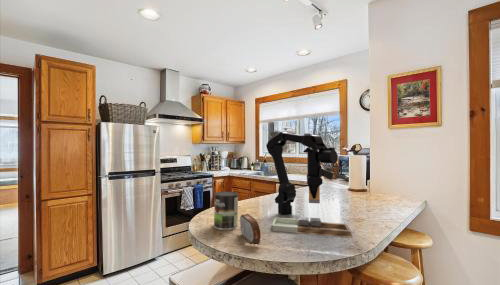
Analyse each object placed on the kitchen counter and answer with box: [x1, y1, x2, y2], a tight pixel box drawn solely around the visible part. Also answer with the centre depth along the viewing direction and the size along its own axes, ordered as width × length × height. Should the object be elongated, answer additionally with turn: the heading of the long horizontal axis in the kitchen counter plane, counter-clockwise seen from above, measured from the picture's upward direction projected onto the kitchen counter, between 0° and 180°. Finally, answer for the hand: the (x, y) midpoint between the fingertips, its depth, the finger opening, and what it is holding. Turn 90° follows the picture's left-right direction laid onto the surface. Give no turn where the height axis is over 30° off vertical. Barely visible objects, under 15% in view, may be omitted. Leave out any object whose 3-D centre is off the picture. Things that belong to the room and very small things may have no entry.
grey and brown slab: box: [239, 213, 261, 245], centre depth 87 cm, size 15×3×8 cm, turn 21°
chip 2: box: [309, 217, 322, 228], centre depth 96 cm, size 4×4×4 cm
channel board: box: [297, 219, 352, 238], centre depth 95 cm, size 20×12×2 cm, turn 77°
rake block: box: [308, 185, 321, 204], centre depth 106 cm, size 5×5×8 cm
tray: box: [270, 216, 299, 234], centre depth 99 cm, size 10×12×3 cm
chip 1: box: [298, 216, 310, 227], centre depth 97 cm, size 4×4×4 cm
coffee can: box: [213, 191, 239, 231], centre depth 101 cm, size 10×10×14 cm
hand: (314, 197), depth 106 cm, fingers closed on rake block, 4 cm apart
